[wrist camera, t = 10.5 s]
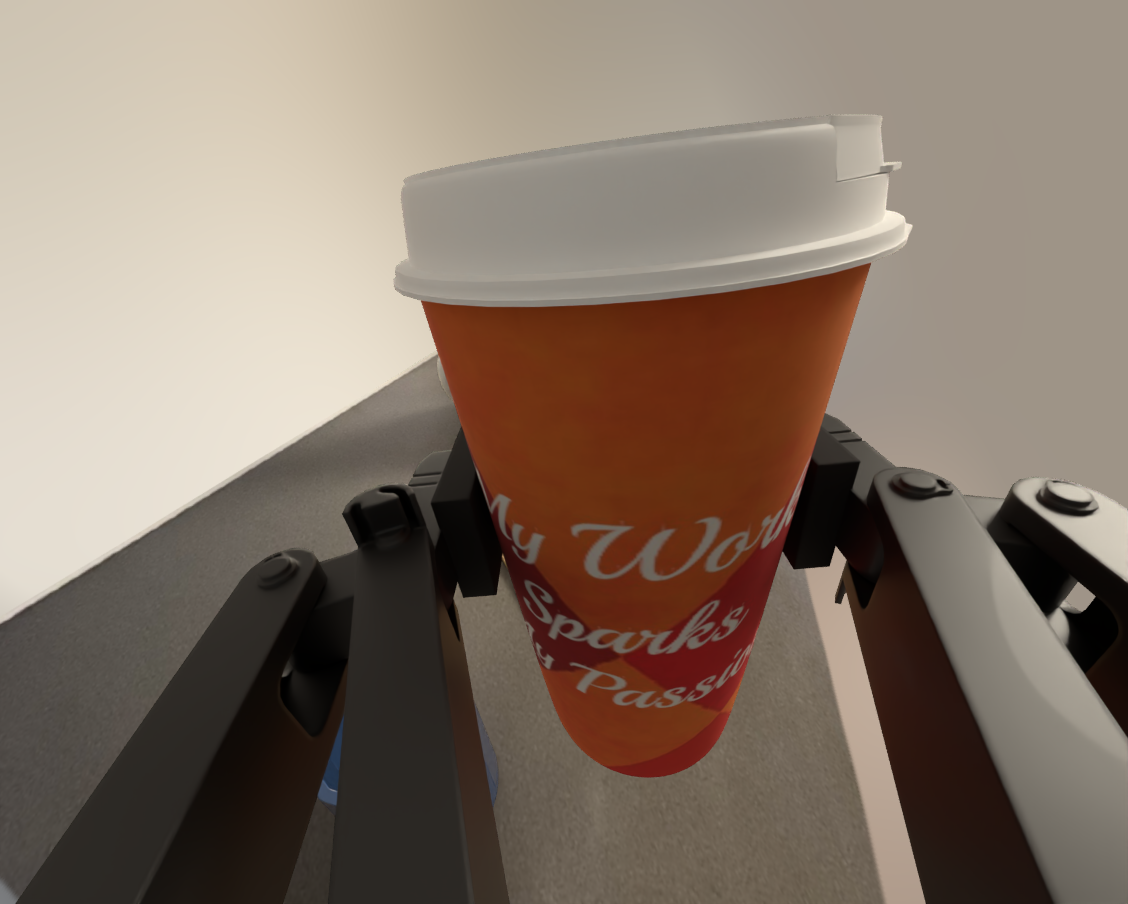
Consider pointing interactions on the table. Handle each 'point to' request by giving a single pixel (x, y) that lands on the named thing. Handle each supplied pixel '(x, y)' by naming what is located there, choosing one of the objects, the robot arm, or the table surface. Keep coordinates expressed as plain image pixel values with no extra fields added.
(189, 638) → the table surface
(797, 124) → the paper cup
